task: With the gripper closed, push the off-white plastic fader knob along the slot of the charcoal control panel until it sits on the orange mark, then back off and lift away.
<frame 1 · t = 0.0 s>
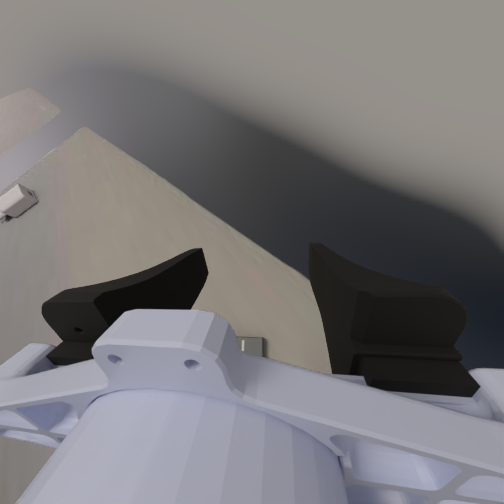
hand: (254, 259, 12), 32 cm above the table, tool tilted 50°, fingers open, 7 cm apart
panel: (221, 366, 39), on the table
charger: (19, 209, 72), on the table
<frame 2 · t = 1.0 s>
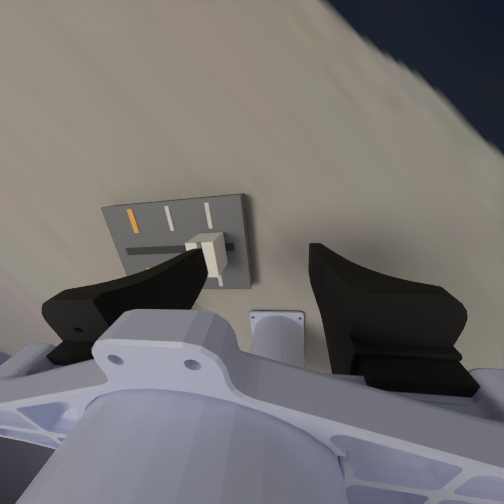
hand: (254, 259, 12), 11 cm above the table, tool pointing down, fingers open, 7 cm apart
fader: (208, 254, 21), point 4 cm above the table, slide at -5.0 cm
panel: (185, 244, 25), on the table
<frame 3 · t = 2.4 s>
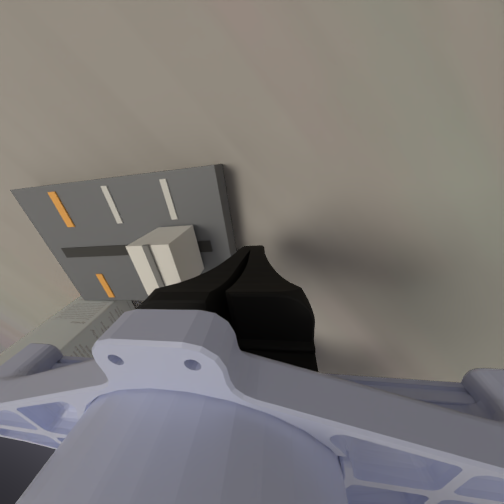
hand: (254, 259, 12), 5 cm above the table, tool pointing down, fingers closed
small box: (122, 312, 24), on the table
fader: (170, 259, 14), point 4 cm above the table, slide at -5.0 cm
panel: (146, 240, 18), on the table
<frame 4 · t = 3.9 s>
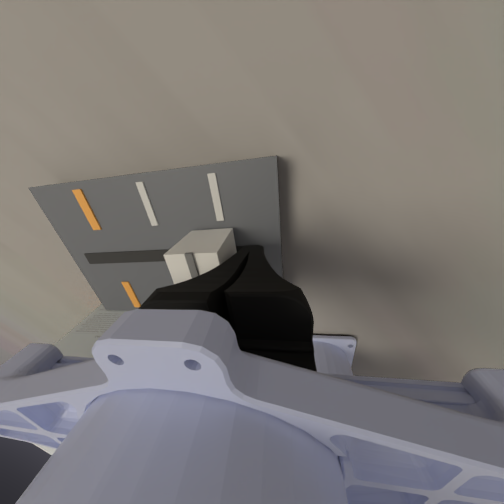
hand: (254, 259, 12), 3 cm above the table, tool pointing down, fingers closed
small box: (144, 321, 22), on the table
fader: (208, 268, 12), point 4 cm above the table, slide at -4.3 cm, touching gripper
panel: (178, 244, 16), on the table
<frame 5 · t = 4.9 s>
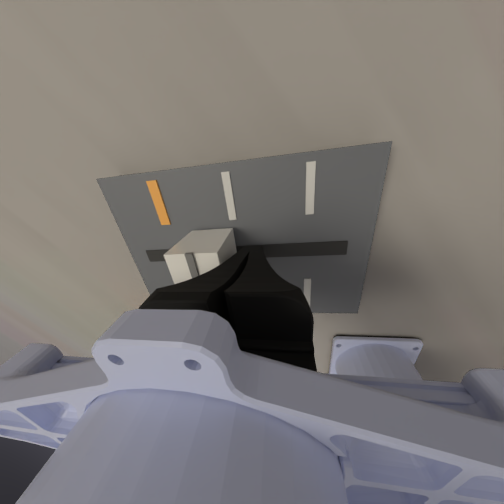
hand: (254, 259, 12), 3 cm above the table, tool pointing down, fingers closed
fader: (209, 268, 12), point 4 cm above the table, slide at 1.6 cm, touching gripper
panel: (243, 241, 15), on the table
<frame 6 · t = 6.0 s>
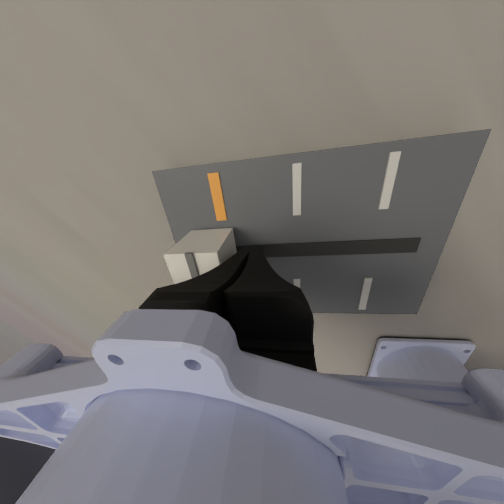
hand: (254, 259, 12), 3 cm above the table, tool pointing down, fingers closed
fader: (208, 268, 12), point 4 cm above the table, slide at 5.8 cm, touching gripper
panel: (294, 238, 15), on the table
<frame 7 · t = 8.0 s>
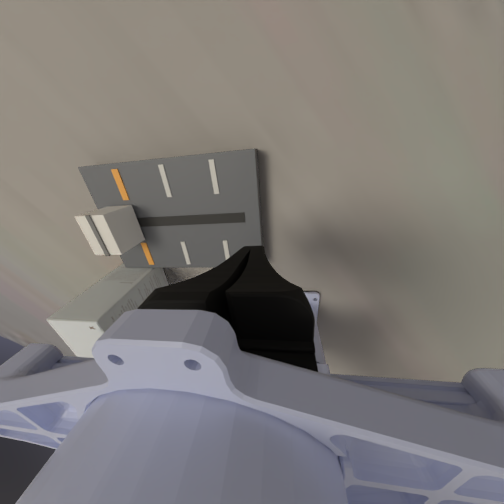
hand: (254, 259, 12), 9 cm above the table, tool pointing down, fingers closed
small box: (153, 282, 28), on the table
fader: (113, 229, 19), point 4 cm above the table, slide at 5.9 cm
panel: (185, 215, 22), on the table
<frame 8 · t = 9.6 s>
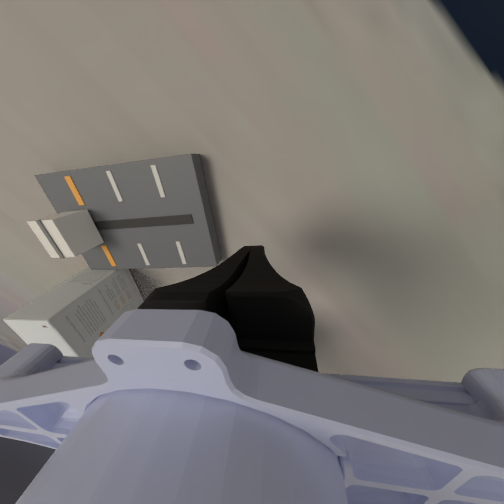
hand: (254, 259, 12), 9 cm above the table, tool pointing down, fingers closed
small box: (122, 283, 29), on the table
fader: (69, 233, 20), point 4 cm above the table, slide at 5.9 cm
panel: (142, 218, 23), on the table
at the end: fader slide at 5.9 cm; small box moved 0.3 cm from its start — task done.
